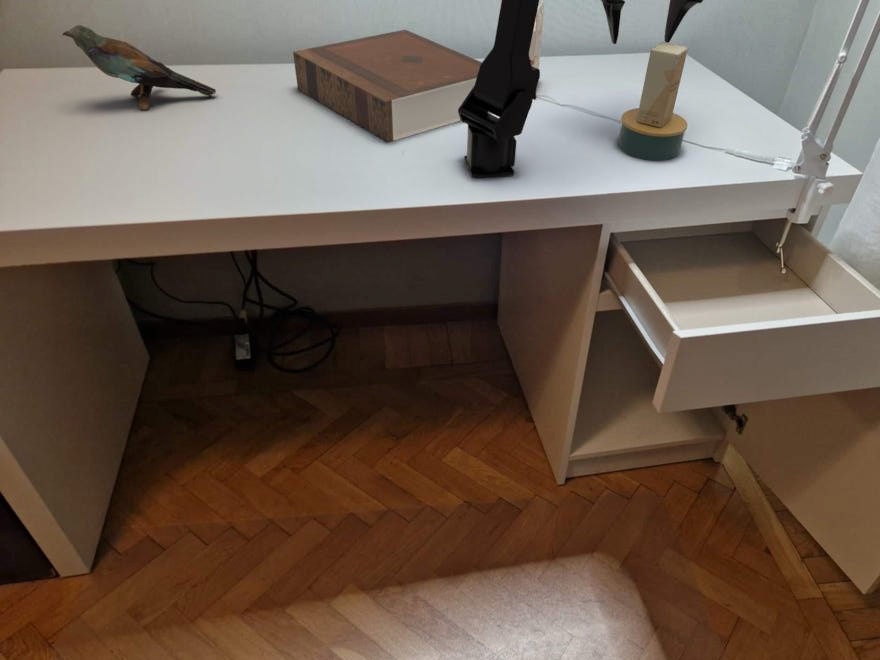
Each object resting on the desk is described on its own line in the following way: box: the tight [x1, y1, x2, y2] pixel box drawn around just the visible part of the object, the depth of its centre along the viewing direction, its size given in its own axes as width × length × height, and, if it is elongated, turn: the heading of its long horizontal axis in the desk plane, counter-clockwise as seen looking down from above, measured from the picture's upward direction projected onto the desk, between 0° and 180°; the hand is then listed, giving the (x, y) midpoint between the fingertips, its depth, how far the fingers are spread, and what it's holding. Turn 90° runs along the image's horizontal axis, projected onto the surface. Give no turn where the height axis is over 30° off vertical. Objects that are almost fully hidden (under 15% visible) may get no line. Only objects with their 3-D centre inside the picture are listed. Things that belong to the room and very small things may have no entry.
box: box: [637, 41, 689, 128], centre depth 106 cm, size 5×4×11 cm
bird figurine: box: [61, 24, 217, 111], centre depth 115 cm, size 13×10×20 cm
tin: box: [617, 107, 688, 161], centre depth 111 cm, size 10×10×4 cm
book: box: [292, 29, 483, 143], centre depth 122 cm, size 24×28×6 cm
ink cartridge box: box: [529, 0, 545, 70], centre depth 126 cm, size 9×5×15 cm, turn 168°
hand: (640, 42), depth 112 cm, fingers open, 9 cm apart
